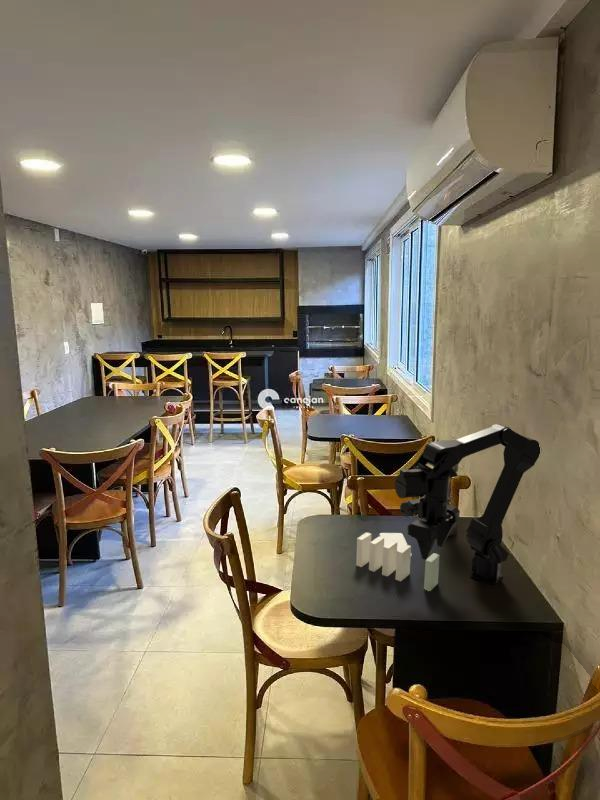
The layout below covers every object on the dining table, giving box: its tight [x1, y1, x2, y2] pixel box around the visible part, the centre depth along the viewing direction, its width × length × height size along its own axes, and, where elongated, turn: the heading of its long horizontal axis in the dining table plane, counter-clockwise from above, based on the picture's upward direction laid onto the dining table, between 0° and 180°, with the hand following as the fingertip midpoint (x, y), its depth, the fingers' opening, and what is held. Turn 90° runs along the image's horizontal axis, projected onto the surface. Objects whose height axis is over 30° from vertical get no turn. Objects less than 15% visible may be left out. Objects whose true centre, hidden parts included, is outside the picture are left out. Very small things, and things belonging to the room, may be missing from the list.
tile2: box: [394, 544, 412, 582], centre depth 140 cm, size 2×5×8 cm, turn 143°
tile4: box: [368, 535, 384, 573], centre depth 145 cm, size 2×5×8 cm, turn 142°
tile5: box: [355, 531, 373, 568], centre depth 148 cm, size 2×5×8 cm, turn 142°
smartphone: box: [379, 532, 413, 557], centre depth 160 cm, size 7×1×15 cm
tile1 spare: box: [423, 552, 440, 592], centre depth 136 cm, size 2×5×8 cm, turn 142°
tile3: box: [381, 540, 397, 577], centre depth 143 cm, size 2×5×8 cm, turn 142°
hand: (432, 552), depth 135 cm, fingers open, 9 cm apart
